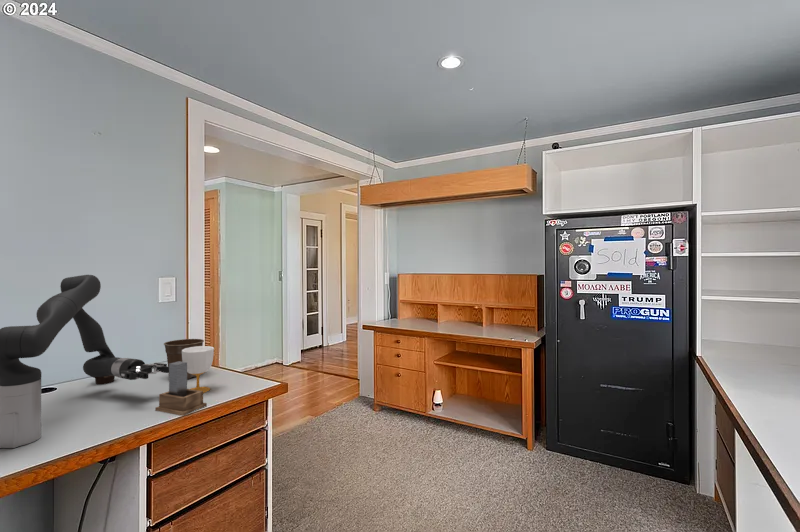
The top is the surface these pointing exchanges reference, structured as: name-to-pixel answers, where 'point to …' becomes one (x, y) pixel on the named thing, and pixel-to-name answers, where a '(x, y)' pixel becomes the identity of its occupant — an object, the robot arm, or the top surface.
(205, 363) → the cup
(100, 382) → the coffee mug
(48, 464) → the top surface
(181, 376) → the bracket
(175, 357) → the plant pot
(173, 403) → the box
